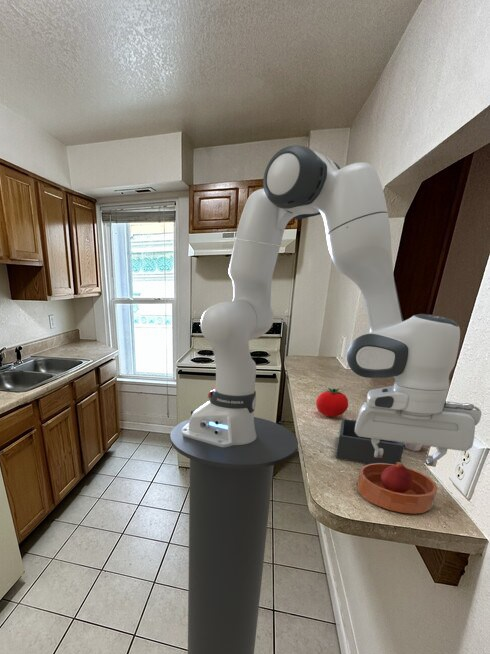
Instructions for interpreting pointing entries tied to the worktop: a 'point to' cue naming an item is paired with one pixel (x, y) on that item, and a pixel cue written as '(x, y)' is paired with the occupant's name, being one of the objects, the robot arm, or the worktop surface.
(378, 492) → the bowl
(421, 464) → the worktop surface
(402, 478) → the pomegranate
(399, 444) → the bin
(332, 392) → the tomato
